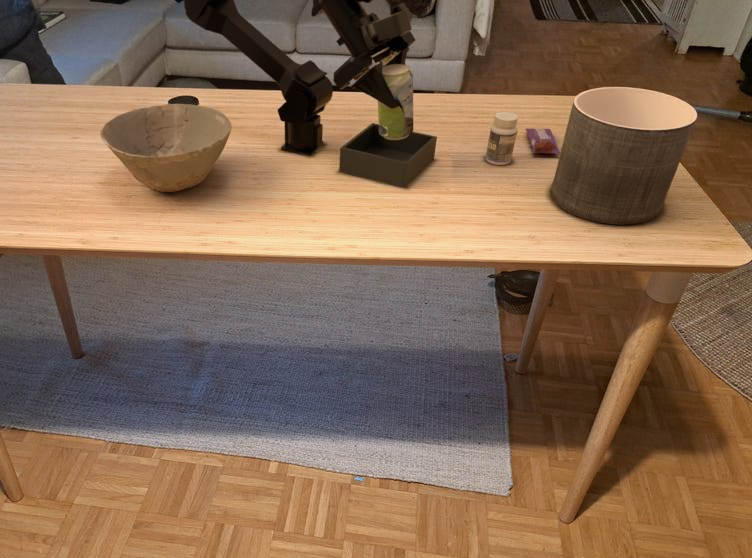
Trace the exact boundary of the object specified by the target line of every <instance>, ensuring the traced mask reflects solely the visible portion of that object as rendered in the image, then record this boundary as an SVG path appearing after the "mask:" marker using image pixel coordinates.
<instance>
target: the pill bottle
mask: <svg viewBox="0 0 752 558" xmlns="http://www.w3.org/2000/svg"><path fill="white" fill-rule="evenodd" d="M518 119H519V116H518V115H517V113H516V114H515V113H513V112H510V111H509V112H508V111H499V112H496V113H495V115H494V119H493V124H492V125H491V127H490V131H489V136H488V141H487V147H486V151H485V161H487V162H488V163H490V164H492V165H497V166H498V165H499V166H500V165H501V166H502V165H504V166H505V165H508V164H510V163H511V161H512V158H513V153H514V148H515V143H516V138H517V135H518V127H517V124H518V121H519V120H518Z"/></svg>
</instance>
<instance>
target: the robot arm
mask: <svg viewBox="0 0 752 558" xmlns="http://www.w3.org/2000/svg"><path fill="white" fill-rule="evenodd" d="M373 1H374V0H312V7H311V11H310V12H311V13H310V16H311V17H312V18H314V17H317V16H319V15H323V14H324V15H325V16H326V18H327V20H328V21H329V22H330V24H331V26H332V27H333V29H334V31H335V32H336V33H337V35H338V37H339V38H338V39H336V43H337V44H338V47H341V46H343V45H345V47H346V49H347V51H348V52H349V53H350V55H351V56H350V57H349V58H347V60H346V61H345V62H343V63H342V65H340V66H339V67H338V68H337V69H336V70H335V71H334V72H333V83H334V84H335V86H336V87H337V89H338V90H339V91H341V90H343V89H345V88H347V87H349V85H350V84H351V82H352V80H354V81H355V82H354V83H353V84H352V85H350V88H351V89H352V90H354V89H356V90H358V91H359V92H362V93H363V94H364V95H365V94H366V95H367V96H369V97H371V98H373V99H375V100H376V101H377V102H378V101H379V102H381V103H383V104H385V105H386V106H388V107H390V108H391V109H393V108H394V107H396V106H397V103H396V101H395V99H394V97H393V95H392V93H391V91H390V89H389V87H388V85H387V83H386V81H385V80H384V78H383V76H382V68H383V67H385V66H388V65H393V64H404V65H407V64H406V59H407V55H408V53H409V51H410V47H411V45H413V44H414V43H415V42H416V41H417V39H416V38H415V36H414V35H413V33H412V32H411V31H412V29H413V28H412V24H411V22H412V19H413V18H414V14H413V13H412V12H411V10H410V9H409V7H407V5H406V4H405V3H404V2H402V3H400V4H397V5H395V6H393V7H391V9H390V14H389V15H386V16H384V17H382V18H379V16H378V15H377V13H374V12H371V13H368V12H367V10H366V9H365V7H364V5H363V4H362V3H364V4H365V3H366V4H371V3H373ZM183 6H184V10H185V15H186V17H187V18H188V20H189V21H190V22H192V23H193V24H195V25H197V26H198V27H200V28H201V29H203V30H204V31H208V32H212V33H215V34H218V35H220V36H222V37H223V38H225V39H226V40H227V41H228V42H229V43H231V44H232V46H234V47H235V48H236V49H237V50H238V51H240V52H241V53H242V54H243V55H244V56H245V57H247V59H249V60H250V61H251V62H252V63H253V64H255V65H256V67H258V68H259V69H261V71H263V72H264V73H265V74H266V75H267V76H269V78H271V79H272V80H273V81H274V82H275V83H276V84H277V85H278V86H279V90H280V92H281V94H282V97H283V99H284V100H285V102H284V103H282V105H281V106H279V108H278V109H277V114H278V118H279V120H280V121H281V122H283V124H284V144H283V145H281V146H280V150H281V151H285V152H291V153H295V154H300V155H305V156H312V155H313V154H314V153H315V152H316V151H317V150H318V149H320V147H322V146H323V145H324V143H325V142H324V140H323V129H324V127H323V124H322V123H321V115H320V113H322V112H324V111H325V109H326V105H328V104H329V103H330V102H331V101H332V98H333V96H334V95H333V93H334V92H333V90H334V89H333V83H332V81H331V80H330V78H329V77H328V76H327V75H328V72H327V71H324V70H322V69H321V68H319V67H318V65H317V64H316V63H315V62H314V61H312V60H311V59H310V60H307V61H306V62H304V63H302V64H301V63H298V62H295V61H294V60H293V59H292V58H291V57H290V56H288V55H287V54H286V53H285V52H284V51H282V50H281V49H280V47H278V46H277V45H276V44H274V43H273V42H272V41H271V40H270V39H269V38H268V37H267V36H265V35H264V34H263V33H262V32H261V31H260V30H258V28H256V27H255V26H254V25H253V24H252V23H250V21H248V20H247V19H246V18H245V17H244V16H242V15H241V14H240V13H239V10H238V7H237V5H236V3H235V0H183Z"/></svg>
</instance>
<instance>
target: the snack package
mask: <svg viewBox="0 0 752 558" xmlns="http://www.w3.org/2000/svg"><path fill="white" fill-rule="evenodd" d="M525 131H526V134H527V137H528V140H529V143H530V146H531V149H532V153H534V154H552V155H555V154H557V155H560V153H561V150H559V147H558V144H557V141H556V139H555V137H554V134H553V131H552V129H550V128H536V127H535V128H534V127H531V128H529V127H528V128H525Z"/></svg>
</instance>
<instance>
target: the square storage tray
mask: <svg viewBox="0 0 752 558" xmlns="http://www.w3.org/2000/svg"><path fill="white" fill-rule="evenodd" d="M437 139H438V136H436V135H431V134H427V133H422V132H417V131H413V132H412V133H411V134H410V135H409V136H408V137H406V138H404V139H400V140H388V139H386V138H384V137H383V136H381V135H380V133H379V123H375V122H372V123H370V124H369V125H368V126H366V128H364V129H363V130H361V131H360V132H359V133H357V134H356V135H355V136H354V137H352V138H351V139H350V140H348V141H347V142H345V143H344V144H343V145H342V146H341V147H340V148H339V168H338V169H339V170H338V172H339V173H342V174H346V175H350V176H354V177H358V178H362V179H366V180H371V181H375V182H379V183H382V184H386V185H390V186H394V187H397V188H403V189H406V188H407V187H408V186H409V185H411V183H412V182H413V181H414V180H415V179H416V178H417V177H418V176H419V175H420V174H422V173H423V171H424V170H426V169H427V168H428V167H429V166H430V165H431V164H432V163H433V162H434V161H435V155H436V148H437V142H438V141H437Z"/></svg>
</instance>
